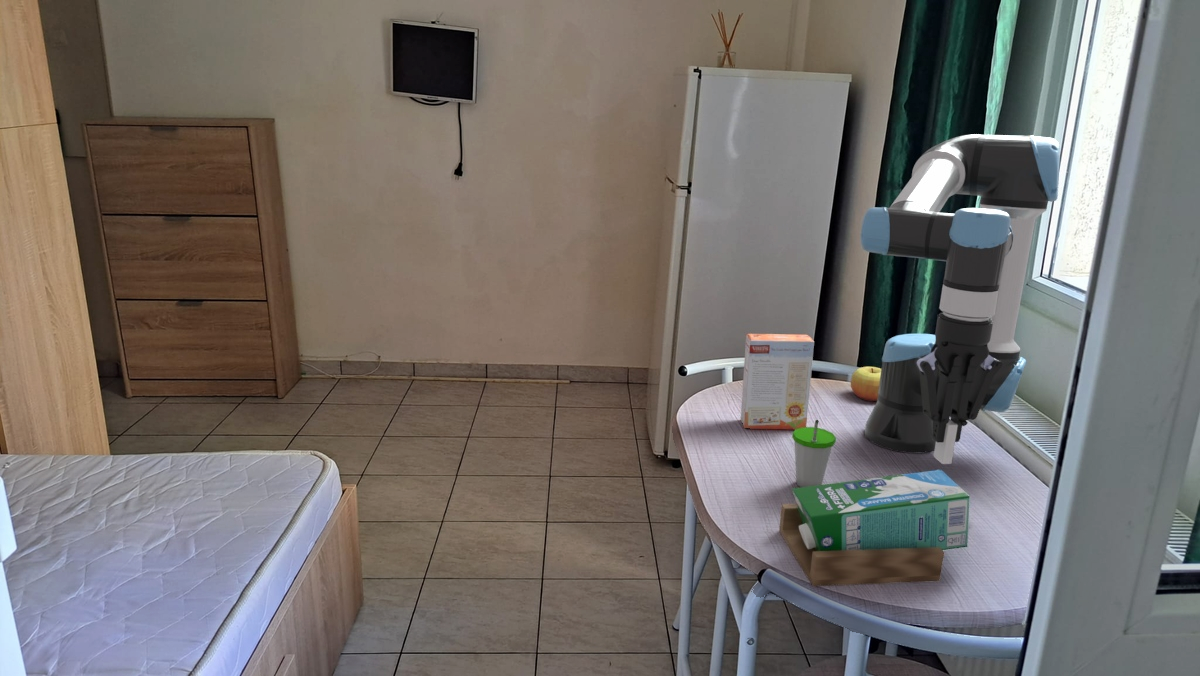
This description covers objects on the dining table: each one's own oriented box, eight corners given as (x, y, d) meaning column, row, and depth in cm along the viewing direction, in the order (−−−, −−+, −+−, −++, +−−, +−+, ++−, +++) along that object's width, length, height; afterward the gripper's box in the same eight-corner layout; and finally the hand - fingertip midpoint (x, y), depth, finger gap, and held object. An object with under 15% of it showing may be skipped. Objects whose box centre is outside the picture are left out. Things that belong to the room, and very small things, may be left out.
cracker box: (800, 420, 179) (809, 333, 173) (806, 431, 174) (815, 341, 168) (739, 419, 179) (746, 331, 173) (743, 429, 174) (750, 339, 168)
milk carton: (939, 517, 130) (792, 536, 129) (941, 469, 127) (790, 488, 126) (967, 547, 121) (810, 568, 120) (970, 495, 119) (809, 516, 118)
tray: (892, 526, 134) (895, 500, 133) (939, 581, 119) (944, 552, 118) (779, 530, 132) (781, 504, 131) (812, 586, 117) (816, 557, 116)
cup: (801, 471, 154) (809, 400, 150) (837, 485, 149) (846, 412, 144) (779, 484, 149) (786, 411, 144) (816, 499, 143) (824, 423, 139)
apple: (851, 403, 191) (855, 372, 189) (846, 389, 200) (850, 359, 198) (893, 406, 189) (898, 375, 187) (886, 392, 199) (890, 362, 196)
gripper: (993, 308, 120) (968, 449, 126) (911, 308, 118) (891, 450, 125) (1022, 321, 113) (995, 469, 119) (936, 321, 111) (914, 471, 118)
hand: (942, 460), depth 122 cm, fingers closed
